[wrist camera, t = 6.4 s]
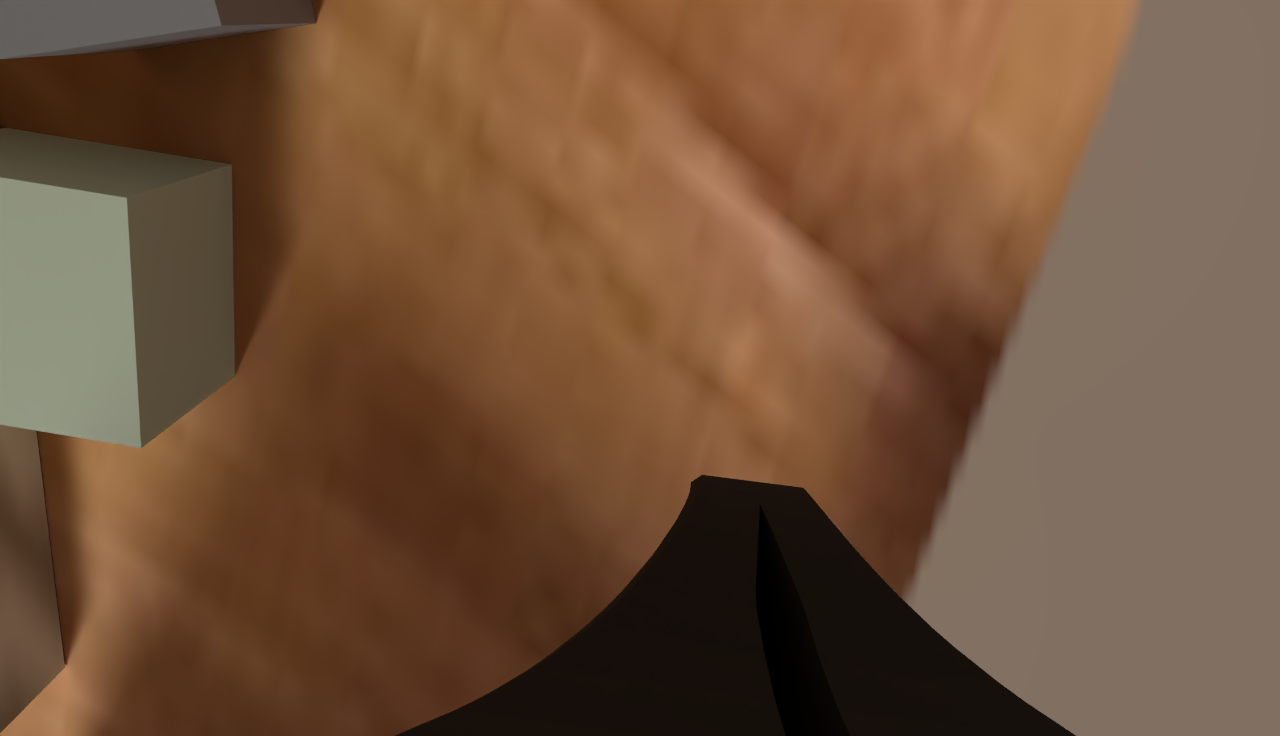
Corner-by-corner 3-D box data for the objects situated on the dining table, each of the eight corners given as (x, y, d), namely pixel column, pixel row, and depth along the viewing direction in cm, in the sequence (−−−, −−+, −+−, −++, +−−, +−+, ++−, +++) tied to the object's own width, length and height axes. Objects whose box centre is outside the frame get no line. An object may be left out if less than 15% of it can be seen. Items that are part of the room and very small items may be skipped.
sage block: (238, 374, 22) (141, 448, 18) (31, 339, 22) (-107, 406, 18) (234, 163, 20) (126, 197, 16) (10, 126, 20) (-148, 153, 17)
